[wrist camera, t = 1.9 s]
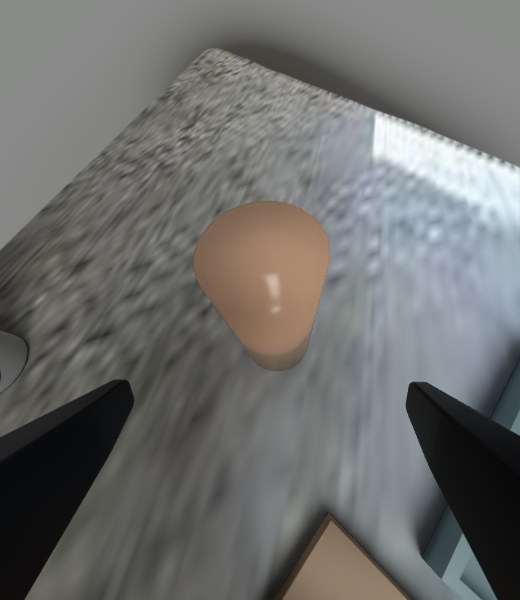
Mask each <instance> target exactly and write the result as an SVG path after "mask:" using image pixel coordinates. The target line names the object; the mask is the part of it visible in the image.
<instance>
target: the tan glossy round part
mask: <svg viewBox="0 0 520 600" xmlns="http://www.w3.org/2000/svg"><path fill="white" fill-rule="evenodd" d="M329 260H330V247H329V241H328V238H327V235H326V233H325V231H324V229H323V228H322V227H321V225H320V224H319V222H318V221H317V220H316V219H315V218H314V217H312V216H311V215H310V214H309V213H307V212H305V211H304V210H302V209H300V208H298V207H296V206H293V205H290V204H287V203H282V202H274V201H260V202H253V203H248V204H244V205H241V206H238V207H236V208H233V209H231V210H229V211H227V212H226V213H224V214H222V215H221V216H219V217H218V218H217V219H216V220H214V221H213V222H212V223H211V224H210V225H209V226H208V227H207V229H206V230H205V231H204V232H203V234H202V236H201V237H200V239H199V241H198V243H197V246H196V249H195V253H194V272H195V276H196V279H197V281H198V283H199V285H200V287H201V289H202V290H203V291H204V293H205V294H206V296H207V297H208V298H209V300H210V301H211V302H212V304H213V305H214V307H215V308H216V309H217V311H218V312H219V314H220V315H221V316H222V318H223V319H224V320H225V322H226V323H227V325H228V326H229V327H230V329H231V330H232V332H233V333H234V334H235V336H236V337H237V338H238V340H239V341H240V343H241V344H242V345H243V347H244V348H245V350H246V351H247V352H248V354H249V355H250V357H251V358H252V359H253V360H254V361H255V362H256V363H257V364H258V365H259V366H261V367H263V368H265V369H268V370H272V371H282V370H287V369H289V368H292V367H293V366H295V365H296V364H298V363H299V362H300V361H301V360H302V358H303V357H304V355H305V353H306V351H307V348H308V344H309V340H310V336H311V332H312V329H313V325H314V321H315V317H316V313H317V309H318V305H319V301H320V297H321V293H322V289H323V285H324V281H325V277H326V273H327V269H328V265H329Z"/></svg>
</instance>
